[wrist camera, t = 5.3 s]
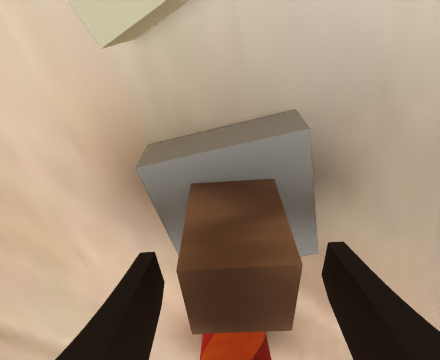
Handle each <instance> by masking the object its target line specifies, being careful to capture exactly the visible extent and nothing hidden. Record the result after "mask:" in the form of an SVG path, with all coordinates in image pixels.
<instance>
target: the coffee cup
mask: <svg viewBox="0 0 440 360" xmlns="http://www.w3.org/2000/svg"><path fill="white" fill-rule="evenodd" d="M200 360H271V356H270V351H269V346H268V341H267V337H266V333H265V331H263V332H236V333H210V334H203V339H202V347H201V355H200Z"/></svg>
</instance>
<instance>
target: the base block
mask: <svg viewBox="0 0 440 360" xmlns="http://www.w3.org/2000/svg"><path fill="white" fill-rule="evenodd" d="M136 170H137V172H138V174H139V176H140V178H141V180H142V182H143V184H144V187H145V189H146V191H147V193H148V195H149V197H150V199H151V201H152V203H153V205H154V207H155V209H156V211H157V213H158V215H159V217H160V219H161V221H162V223H163V225H164V227H165V229H166V231H167V233H168V235H169V237H170V239H171V241H172V243H173V245H174V247H175V249H176V251H177V253H178V255H179V252H180V246H181V240H182V234H183V228H184V222H185V216H186V210H187V204H188V198H189V192H190V186H191V184H192V183H209V182H226V181H243V180H260V179H274V180H275V183H276V186H277V189H278V192H279V195H280V198H281V201H282V204H283V207H284V210H285V213H286V216H287V219H288V222H289V225H290V228H291V231H292V234H293V237H294V240H295V243H296V246H297V249H298V253H299V256H300V257H301V256H307V255H313V254H318V243H317V229H316V214H315V199H314V185H313V170H312V155H311V141H310V128H309V127H308V126H307V124H306V123H305V122H304V120H303V119H302V118H301V117H300V115H299V114H298V113H297V112H296V110H292V111H288V112H283V113H279V114H275V115H271V116H267V117H262V118H258V119H254V120H250V121H246V122H242V123H237V124H233V125H229V126H225V127H221V128H216V129H212V130H208V131H204V132H200V133H196V134H191V135H187V136H183V137H179V138H175V139H171V140H166V141H162V142H158V143H154V144H150V145H148V146H147V148H146V150H145V152H144V154H143V155H142V157H141V159H140V161H139V163H138V164H137V166H136Z"/></svg>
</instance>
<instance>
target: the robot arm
mask: <svg viewBox="0 0 440 360" xmlns="http://www.w3.org/2000/svg"><path fill="white" fill-rule="evenodd" d="M322 278H323V282H324V285H325V289H326V292H327V296H328V299H329V302H330V304H331V307H332V309H333V311H334V314H335V316H336V319H337V321H338V324H339V326H340V328H341V331H342V333H343V336H344V338H345V341H346V343H347V345H348V348H349V350H350V353H351V355H352V357H353V360H440V331H438V330H437V329H436V328H435V327H433V326H432V325H431V324H430V323H429V322H427V321H426V320H425V319H424V318H423V317H422V316H420V315H419V314H418V313H417V312H416V311H415V310H413V309H412V308H411V307H410V306H409V305H408V304H407V303H406V302H404V301H403V300H402V299H401V298H400V297H399V296H398V295H397V294H396V293H395V292H394V291H392V290H391V289H390V288H389V287H388V286H387V285H386V284H385V283H384V282H383V281H382V280H381V279H380V278H379V277H378V276H377V275H376V274H375V273H374V272H373V271H372V270H371V269H370V268H369V267H368V266H367V265H366V264H365V263H364V262H363V261H362V260H361V259H360V258H359V257H358V256H357V255H356V254H355V253H354V252H353V251H352V250H351V249H350V248H349V247H348V246H347V245H346V244H345V243H344V242H329V243H328V246H327V251H326V256H325V261H324V265H323V270H322ZM163 290H164V280H163V276H162V273H161V270H160V267H159V264H158V261H157V258H156V254H155V252H145V253H140V254H139V255H138V256H137V258H136V259H135V261H134V262H133V264H132V265H131V267H130V268H129V270H128V271H127V272H126V274H125V275H124V277H123V278H122V280H121V281H120V282H119V284H118V285H117V286H116V288H115V289H114V290H113V292H112V293H111V295H110V296H109V297H108V299H107V300H106V301H105V303H104V304H103V305H102V306H101V308H100V309H99V310H98V311H97V313H96V314H95V315H94V316H93V318H92V319H91V320H90V321H89V322H88V324H87V325H86V326H85V327H84V328H83V330H82V331H81V332H80V333H79V334H78V335H77V337H76V338H75V339H74V340H73V341H72V342H71V343H70V344H69V345H68V347H67V348H66V349H65V350H64V351H63V352H62V353H61V354H60V355H59V356H58V357H57V358H56V359H55V360H149V356H150V352H151V348H152V344H153V340H154V336H155V332H156V327H157V323H158V319H159V315H160V310H161V305H162V298H163Z"/></svg>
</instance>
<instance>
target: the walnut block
mask: <svg viewBox="0 0 440 360" xmlns="http://www.w3.org/2000/svg"><path fill="white" fill-rule="evenodd" d="M176 271H177V275H178V279H179V283H180V287H181V291H182V295H183V299H184V303H185V307H186V311H187V315H188V319H189V323H190V327H191V331H192V334H210V333H236V332H263V331H289V330H292V326H293V320H294V314H295V308H296V302H297V296H298V289H299V283H300V277H301V271H302V262H301V259H300V256H299V253H298V249H297V246H296V243H295V240H294V237H293V234H292V231H291V228H290V225H289V222H288V219H287V216H286V213H285V210H284V207H283V204H282V201H281V198H280V195H279V192H278V189H277V186H276V183H275V180H274V179H260V180H243V181H226V182H209V183H192V184H191V186H190V192H189V198H188V204H187V210H186V216H185V222H184V228H183V234H182V240H181V246H180V252H179V258H178V264H177V270H176Z"/></svg>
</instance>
